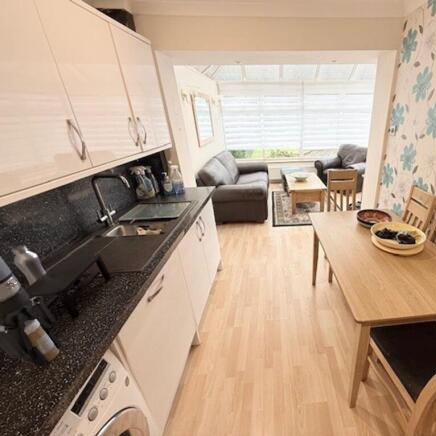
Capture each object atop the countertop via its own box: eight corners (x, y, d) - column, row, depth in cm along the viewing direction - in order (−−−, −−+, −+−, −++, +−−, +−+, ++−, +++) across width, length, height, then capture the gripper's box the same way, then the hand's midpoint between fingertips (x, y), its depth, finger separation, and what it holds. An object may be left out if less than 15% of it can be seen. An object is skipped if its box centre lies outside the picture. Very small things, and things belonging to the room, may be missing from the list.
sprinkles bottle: (35, 363, 69) (8, 331, 63) (51, 349, 73) (26, 317, 67) (49, 364, 68) (23, 332, 62) (64, 349, 72) (41, 318, 67)
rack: (34, 324, 83) (14, 298, 77) (76, 282, 102) (63, 259, 97) (77, 317, 84) (60, 291, 79) (111, 277, 104) (99, 254, 98)
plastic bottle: (34, 288, 101) (7, 248, 92) (55, 280, 105) (31, 241, 96) (33, 295, 96) (4, 254, 88) (55, 287, 100) (29, 247, 91)
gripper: (-18, 321, 53) (38, 383, 63) (45, 272, 68) (82, 328, 78) (-56, 326, 52) (7, 389, 62) (16, 275, 68) (57, 332, 78)
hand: (48, 355), depth 70 cm, fingers closed on sprinkles bottle, 4 cm apart
